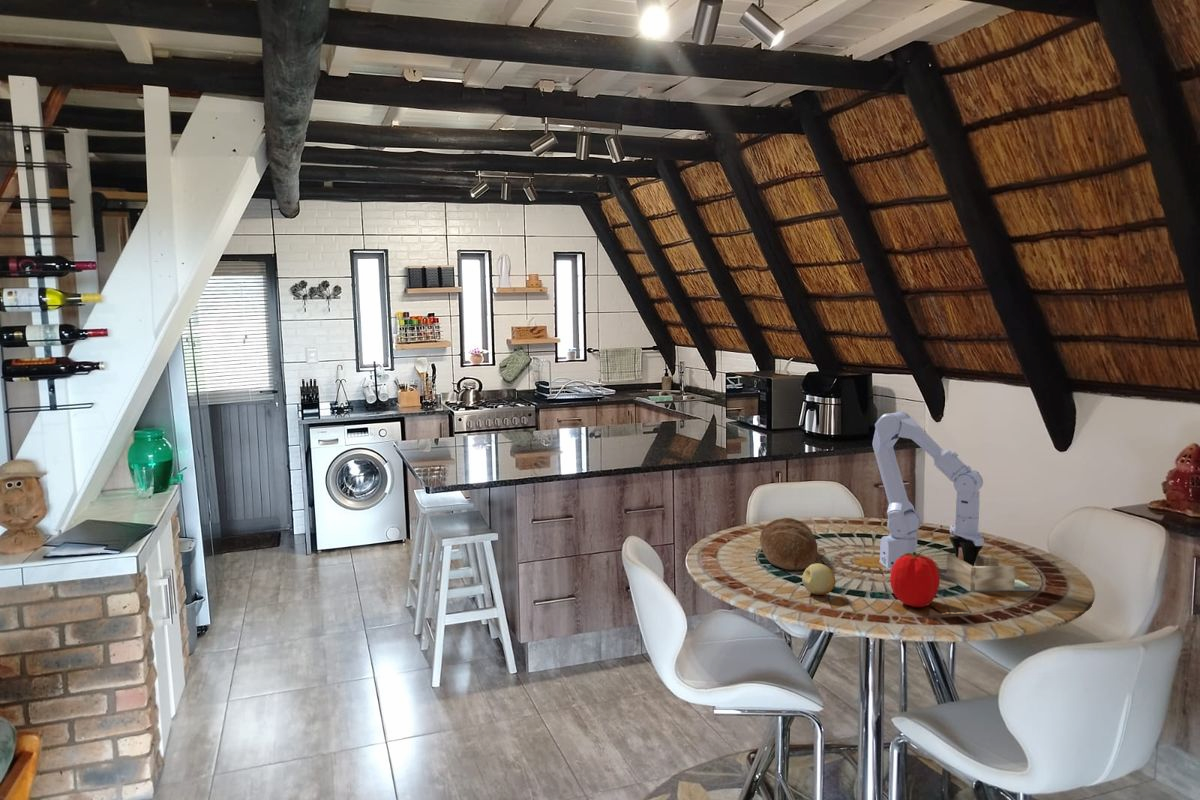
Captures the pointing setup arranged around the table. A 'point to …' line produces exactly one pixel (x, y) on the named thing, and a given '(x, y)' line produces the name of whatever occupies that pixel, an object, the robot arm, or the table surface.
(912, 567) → the tomato
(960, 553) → the peg
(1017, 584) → the pad
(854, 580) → the table surface
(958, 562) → the tan piece
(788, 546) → the bread
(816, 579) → the fruit
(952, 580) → the board
